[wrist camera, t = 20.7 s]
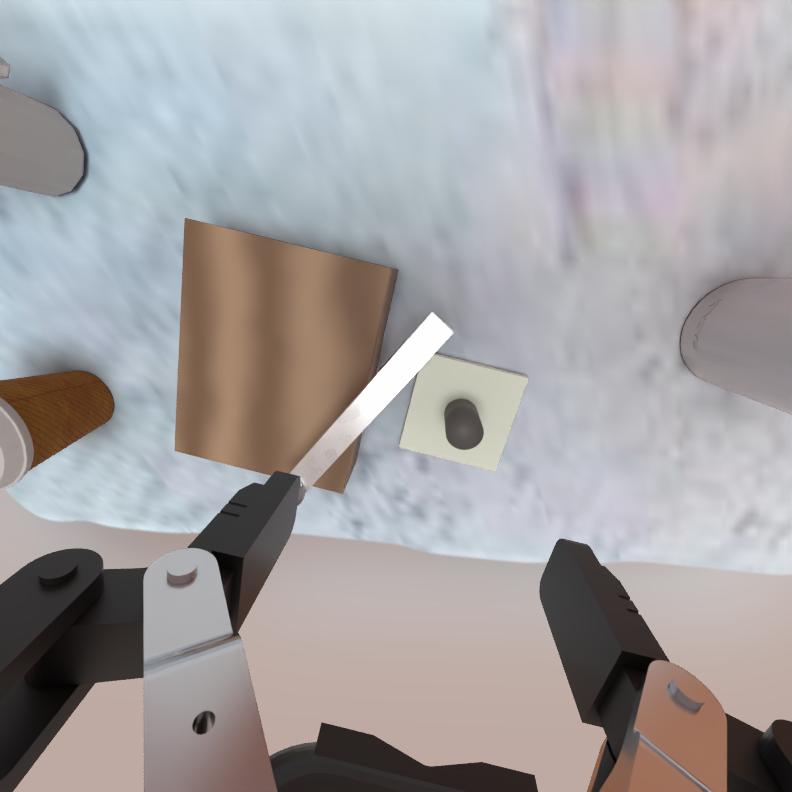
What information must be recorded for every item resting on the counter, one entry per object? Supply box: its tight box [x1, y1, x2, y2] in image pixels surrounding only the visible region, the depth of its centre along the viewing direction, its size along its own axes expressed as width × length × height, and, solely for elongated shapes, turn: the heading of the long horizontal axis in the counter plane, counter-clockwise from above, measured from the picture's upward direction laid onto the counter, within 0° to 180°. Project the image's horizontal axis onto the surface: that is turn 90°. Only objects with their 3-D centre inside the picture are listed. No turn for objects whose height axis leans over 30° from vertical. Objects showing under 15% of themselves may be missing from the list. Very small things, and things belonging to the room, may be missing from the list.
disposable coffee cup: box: [0, 371, 114, 490], centre depth 35 cm, size 10×10×12 cm
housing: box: [175, 218, 398, 494], centre depth 33 cm, size 16×20×8 cm
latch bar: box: [289, 311, 454, 506], centre depth 29 cm, size 2×19×2 cm, turn 139°
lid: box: [399, 353, 529, 472], centre depth 35 cm, size 10×10×6 cm
